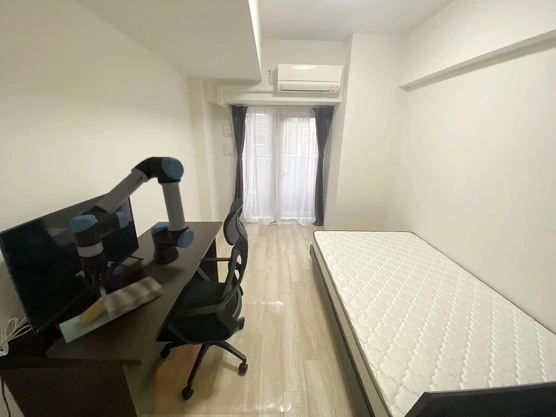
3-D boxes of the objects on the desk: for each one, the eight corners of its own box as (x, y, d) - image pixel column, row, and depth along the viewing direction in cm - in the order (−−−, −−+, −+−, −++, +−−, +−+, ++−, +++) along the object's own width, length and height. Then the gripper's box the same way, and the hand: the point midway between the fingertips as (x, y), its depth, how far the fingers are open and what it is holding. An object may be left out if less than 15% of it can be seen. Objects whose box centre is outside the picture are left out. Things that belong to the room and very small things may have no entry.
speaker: (103, 288, 112) (101, 270, 109) (112, 282, 118) (111, 265, 115) (116, 291, 111) (115, 273, 109) (125, 284, 117) (124, 267, 114)
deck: (151, 282, 117) (149, 276, 116) (163, 293, 109) (162, 286, 108) (100, 305, 100) (98, 298, 99) (111, 320, 92) (109, 312, 91)
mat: (100, 305, 100) (100, 305, 100) (111, 320, 92) (111, 319, 92) (59, 325, 90) (59, 324, 90) (66, 343, 82) (66, 342, 82)
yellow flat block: (102, 301, 97) (99, 299, 96) (107, 307, 94) (103, 304, 93) (81, 319, 92) (77, 317, 91) (85, 326, 89) (81, 324, 88)
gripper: (108, 244, 96) (119, 290, 102) (68, 256, 86) (83, 306, 93) (114, 249, 91) (125, 297, 98) (72, 262, 81) (88, 314, 88)
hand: (105, 301), depth 95 cm, fingers closed
